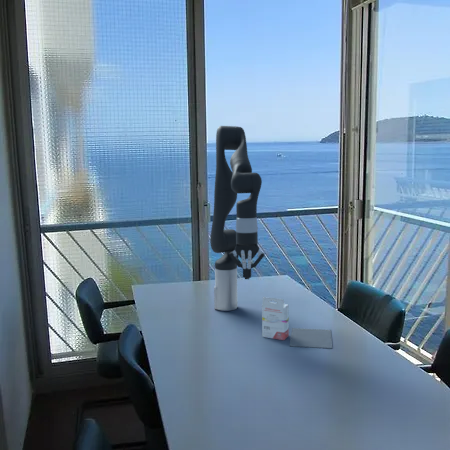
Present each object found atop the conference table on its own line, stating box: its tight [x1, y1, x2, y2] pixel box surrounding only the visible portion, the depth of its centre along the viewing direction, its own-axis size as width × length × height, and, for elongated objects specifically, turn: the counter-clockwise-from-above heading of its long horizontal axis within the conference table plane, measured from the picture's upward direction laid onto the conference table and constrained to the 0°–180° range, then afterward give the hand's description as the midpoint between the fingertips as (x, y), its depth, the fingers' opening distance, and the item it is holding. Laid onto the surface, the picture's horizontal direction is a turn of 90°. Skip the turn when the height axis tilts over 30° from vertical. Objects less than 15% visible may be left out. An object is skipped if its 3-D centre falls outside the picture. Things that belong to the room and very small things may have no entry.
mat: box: [289, 327, 333, 350], centre depth 175 cm, size 14×17×1 cm
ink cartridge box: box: [261, 296, 290, 341], centre depth 177 cm, size 9×5×15 cm, turn 62°
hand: (247, 278), depth 176 cm, fingers closed
